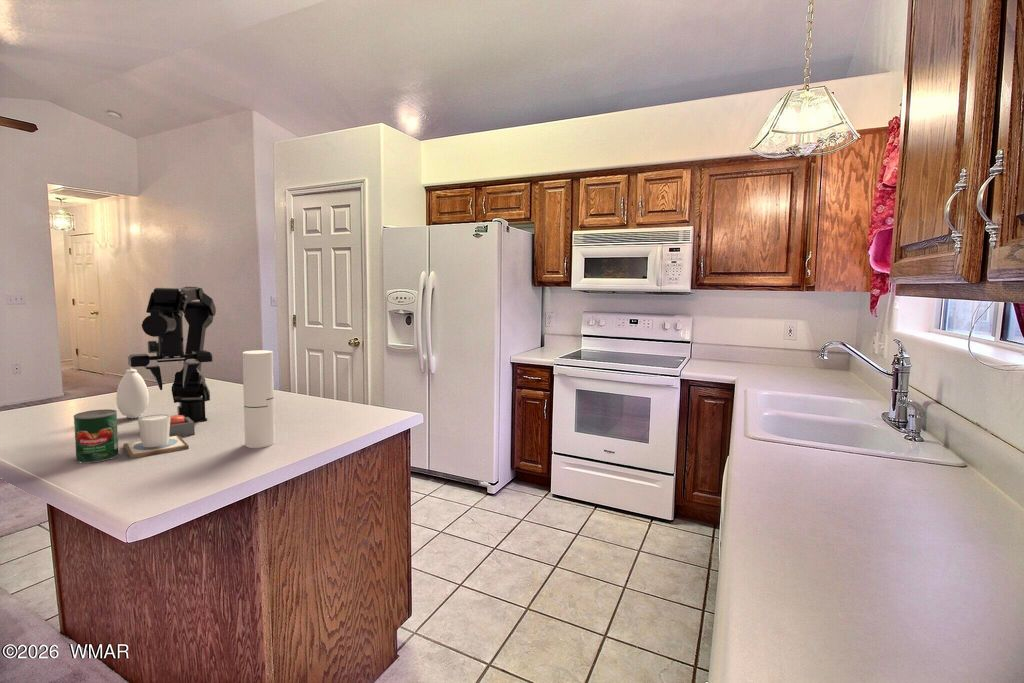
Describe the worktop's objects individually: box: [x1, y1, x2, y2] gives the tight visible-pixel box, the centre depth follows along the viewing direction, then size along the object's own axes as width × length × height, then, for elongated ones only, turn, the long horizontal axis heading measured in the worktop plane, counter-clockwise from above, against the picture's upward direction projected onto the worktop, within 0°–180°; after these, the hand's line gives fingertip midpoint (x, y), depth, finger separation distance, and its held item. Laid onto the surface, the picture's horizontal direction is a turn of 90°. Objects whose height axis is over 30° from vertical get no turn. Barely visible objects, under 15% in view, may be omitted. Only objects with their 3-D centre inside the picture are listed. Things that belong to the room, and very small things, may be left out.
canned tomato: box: [73, 408, 120, 464], centre depth 117 cm, size 8×8×11 cm
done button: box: [170, 414, 185, 425], centre depth 137 cm, size 5×5×2 cm
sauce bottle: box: [115, 366, 150, 420], centre depth 152 cm, size 8×8×18 cm
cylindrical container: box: [242, 349, 276, 449], centre depth 130 cm, size 7×7×25 cm
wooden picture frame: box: [122, 435, 190, 459], centre depth 126 cm, size 12×12×1 cm
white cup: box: [137, 414, 172, 447], centre depth 125 cm, size 7×7×7 cm
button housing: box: [169, 417, 196, 437], centre depth 138 cm, size 8×8×4 cm
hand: (172, 388), depth 137 cm, fingers open, 5 cm apart
